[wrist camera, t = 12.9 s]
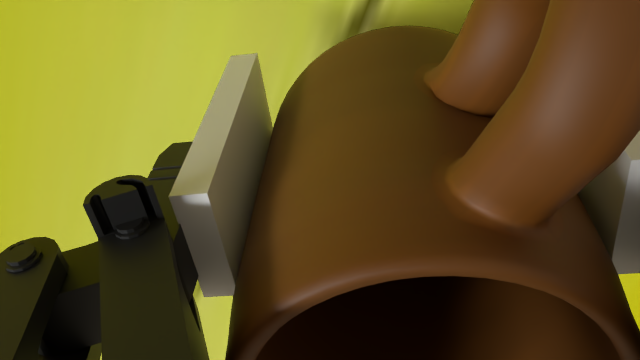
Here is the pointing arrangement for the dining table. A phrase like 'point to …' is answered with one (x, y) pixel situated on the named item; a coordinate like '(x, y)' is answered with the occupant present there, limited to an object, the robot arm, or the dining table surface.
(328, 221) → the mug
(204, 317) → the dining table surface
